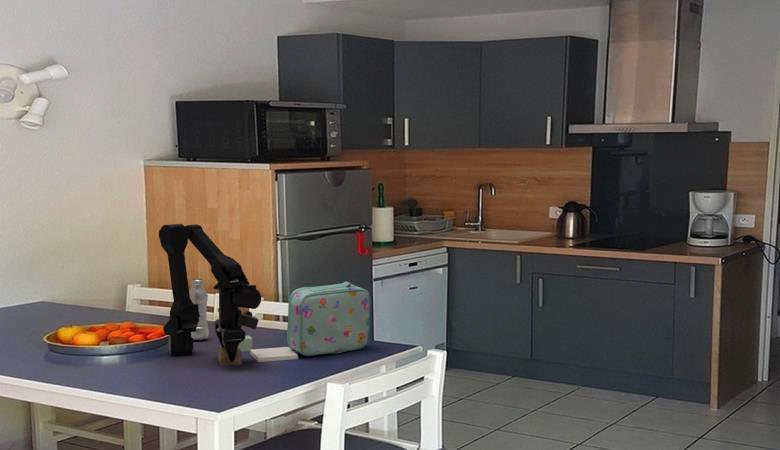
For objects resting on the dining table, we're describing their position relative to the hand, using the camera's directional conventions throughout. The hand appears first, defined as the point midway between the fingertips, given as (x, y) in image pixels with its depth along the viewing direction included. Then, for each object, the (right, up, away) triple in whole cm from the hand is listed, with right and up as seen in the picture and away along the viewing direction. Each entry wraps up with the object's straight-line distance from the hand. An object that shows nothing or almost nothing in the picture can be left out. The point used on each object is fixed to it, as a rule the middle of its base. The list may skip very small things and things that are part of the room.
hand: (229, 358), depth 269 cm
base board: (+12, -1, +9) cm, 15 cm away
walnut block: (0, -2, 0) cm, 2 cm away
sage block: (+1, 0, +17) cm, 18 cm away
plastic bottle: (-16, +1, +32) cm, 35 cm away
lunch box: (+28, 0, +16) cm, 32 cm away
